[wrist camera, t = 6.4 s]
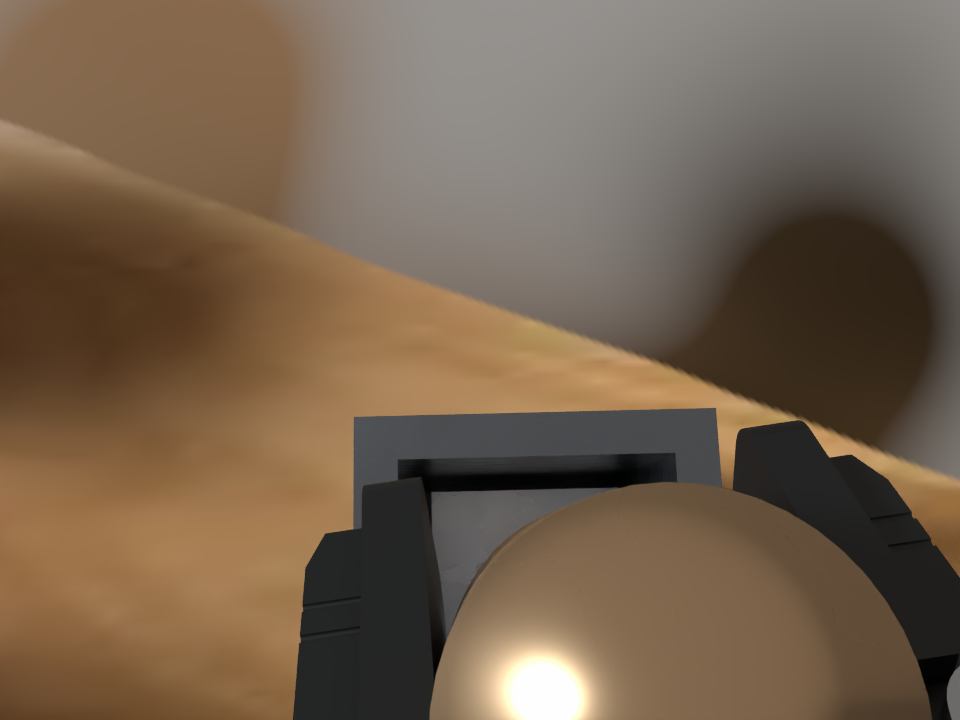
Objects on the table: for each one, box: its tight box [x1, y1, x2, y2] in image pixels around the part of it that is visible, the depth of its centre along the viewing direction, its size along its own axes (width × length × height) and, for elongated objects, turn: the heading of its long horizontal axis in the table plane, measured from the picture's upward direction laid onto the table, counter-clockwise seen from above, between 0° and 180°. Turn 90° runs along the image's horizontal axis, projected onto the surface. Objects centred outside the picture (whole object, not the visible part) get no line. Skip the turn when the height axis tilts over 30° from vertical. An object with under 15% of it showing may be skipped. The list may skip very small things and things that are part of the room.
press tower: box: [354, 408, 722, 529], centre depth 33 cm, size 10×10×18 cm
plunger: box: [430, 482, 932, 720], centre depth 20 cm, size 7×7×26 cm
